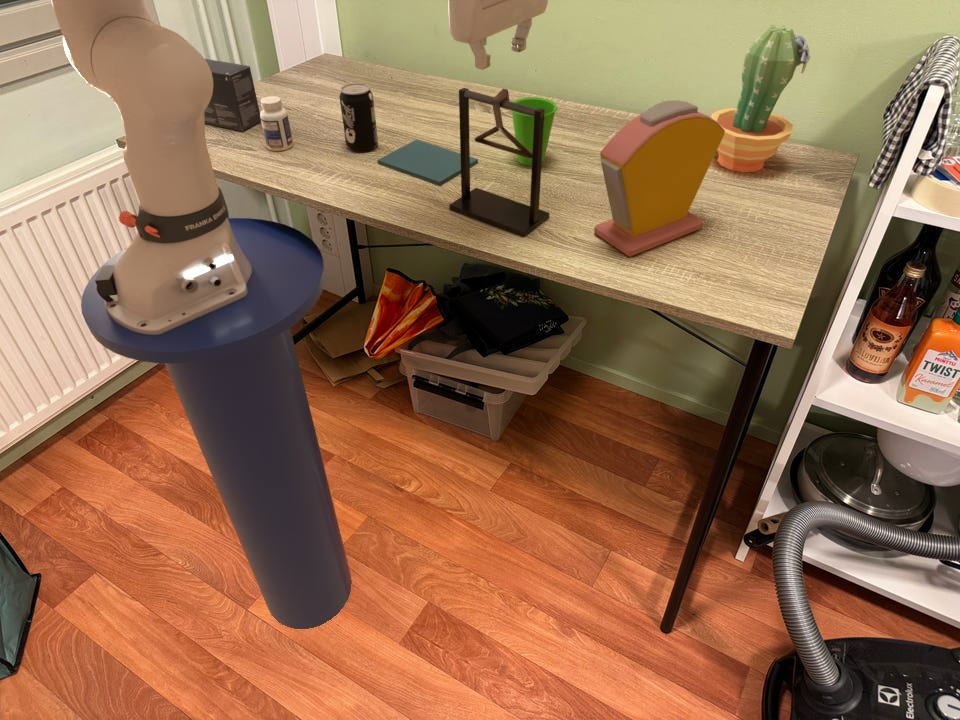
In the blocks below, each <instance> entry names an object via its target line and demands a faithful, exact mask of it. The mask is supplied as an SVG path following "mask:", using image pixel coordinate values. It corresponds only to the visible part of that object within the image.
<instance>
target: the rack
mask: <svg viewBox="0 0 960 720" xmlns="http://www.w3.org/2000/svg"><path fill="white" fill-rule="evenodd" d="M494 97H495V96H491V95H487V94H483V93H481V92H476V91H472V90H470V89H469V88H466V87H462V88H460V89H458V112H459V113H458V115H459V149H460V150H459V153H460V156H461V173H460V190H461V191H460V192H461V196H460V197H459V198H458V199H456V200H453V202H451V203H449V205H448V207H449V208H448V209H449V210H450V211H452V212H455V213H458V214H460V215H464V216H466V217H468V218H471V219H475V220H477V221H479V222H482V223H485V224H487V225H490V226H493V227H495V228H498V229H500V230H503V231H506V232H507V233H508V232H509V233H510V234H514V235H517V236H519V237H522V238H525V237H526V236H528V235H529V234H530V233H532V232H533V231H534V230H535V229H537V228H538V227H539V226H540V225H542V224H543V223H544V222H546V221H548V219H550V212H548V211H545V210H542V209H540V196H541V195H540V194H541V179H542V165H543V163H542V147H543V130H544V113H545V109H541V108H539V109H536V108H532V107H528V106H525V105H521V104H517V103H514V102H513V101H506V100H502V101H501V102H500V103H499V105H500V109H501V108H502V109H505V110H509V111H511V112H512V111H515V112H519V113H523V114H526V115H530V116H533V117H534V133H533V153H532V166H531V175H530V176H531V177H530V180H531V181H530V194H529V195H530V196H529V205H527V204H524V203H522V202H519V201H516V200H513V199H511V198H507V197H505V196H501V195H500V194H496V193H493V192H490V191H487V190H485V189H482V188H478V187H474V188H473V189H471V167H470V157H471V154H470V153H471V152H470V151H471V150H470V149H471V147H470V146H471V145H470V100H472V101H475V102H479V103H482V104H483V103H484V104H487V105H491V106H493V105H492V99H493V98H494Z"/></svg>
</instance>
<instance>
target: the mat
mask: <svg viewBox="0 0 960 720" xmlns="http://www.w3.org/2000/svg"><path fill="white" fill-rule="evenodd" d="M478 163H479V159H478V158H475V157H472V156H470V168H472V167H473V166H475V165H476V164H478ZM377 164H378V165H381V166H383V167H386V168H389V169H391V170H395V171H397V172H400V173H402V174H406V175H409V176H412V177H414V178H417V179H420V180H422V181H424V182H425V181H426V182H428V183H431V184H434V185H437V186H439V187H441V186H442V185H444V184H446V183H448V182H449V181H450V180H452V179H455V177H457V176H458V175H461V156H460V152H457V151H454V150H451V149H448V148H444V147H442V146H438V145H436V144H433V143H429V142H426V141H423V140H420V139H414V140H413V141H411V142H408V143H407V144H405V145H403V146H401V147H400V148H397V149H396V150H393V151H392V152H389V153H388V154H386V155H384V156H382V157H379V158H378V159H377Z"/></svg>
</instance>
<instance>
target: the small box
mask: <svg viewBox="0 0 960 720" xmlns="http://www.w3.org/2000/svg"><path fill="white" fill-rule="evenodd" d="M204 59H205V60H206V62H207V63H208V65H209V67H210V70H211V73H212V77H213V93H212V97H211V100H210V102H209V104H208V106H207V108H206V109H205V125H210V126H214V127H215V126H216V127H219V128H223V129H229V130H234V131H239V132H243V131H246V130H247V129H250V128H251V127H253V126H256V125H257V124H259V123H260V122H261V118H260V112H261V111H260V107H259V102H258V98H257V92H256V89H255V84H254V79H253V74H252V70H251V66H250V65H244V64H239V63H233V62H228V61H221V60H217V59H216V60H214V59H209V58H204Z"/></svg>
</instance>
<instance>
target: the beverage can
mask: <svg viewBox="0 0 960 720" xmlns="http://www.w3.org/2000/svg"><path fill="white" fill-rule="evenodd" d="M339 104H340V111H341V118H342V126H343V132H344V137H345V138H344V139H345V145H346V147H347V148H349V149H350V151H353V152H355V153H356V152H357V153H364V152H365V153H366V152H370V151H372V150H374V149H375V148H376V147H377V145H378V144H379V137H378V129H377V120H376V110H375V101H374V94H373V92H372V91H371V86H370V85H369V84H367V83H363V82H352V83H351V82H350V83H347V84H344V85H342V86H341V87H340V94H339Z"/></svg>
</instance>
